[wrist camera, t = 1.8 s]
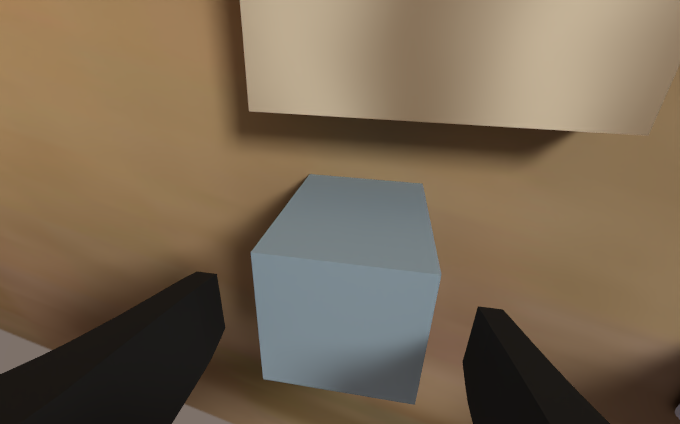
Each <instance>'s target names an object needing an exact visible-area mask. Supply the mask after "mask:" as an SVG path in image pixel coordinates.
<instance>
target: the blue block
mask: <svg viewBox="0 0 680 424" xmlns="http://www.w3.org/2000/svg"><path fill="white" fill-rule="evenodd" d="M251 261H252V271H253V281H254V291H255V301H256V311H257V321H258V332H259V342H260V352H261V362H262V372H263V379H266V380H272V381H278V382H284V383H290V384H296V385H302V386H308V387H314V388H320V389H325V390H331V391H337V392H343V393H349V394H355V395H361V396H367V397H373V398H379V399H385V400H390V401H396V402H402V403H408V404H414V405H415V401H416V396H417V391H418V386H419V381H420V376H421V372H422V367H423V362H424V357H425V352H426V347H427V342H428V337H429V332H430V328H431V323H432V318H433V313H434V308H435V303H436V298H437V293H438V288H439V283H440V279H441V271H440V266H439V262H438V257H437V252H436V247H435V242H434V237H433V232H432V227H431V222H430V218H429V213H428V208H427V203H426V198H425V193H424V188H423V184H420V183H408V182H396V181H384V180H372V179H360V178H349V177H337V176H325V175H313V174H309V176H308V177H307V178H306V180H305V181H304V182H303V184H302V185H301V186H300V188H299V189H298V190H297V192H296V193H295V194H294V196H293V197H292V198H291V199H290V201H289V202H288V203H287V205H286V206H285V207H284V209H283V210H282V211H281V213H280V214H279V215H278V217H277V218H276V219H275V221H274V222H273V223H272V225H271V226H270V227H269V229H268V230H267V231H266V233H265V234H264V235H263V237H262V238H261V239H260V241H259V242H258V243H257V245H256V246H255V247H254V249H253V250H252V251H251Z"/></svg>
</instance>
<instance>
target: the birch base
mask: <svg viewBox="0 0 680 424" xmlns="http://www.w3.org/2000/svg"><path fill="white" fill-rule="evenodd" d="M240 9H241V21H242V33H243V45H244V57H245V69H246V81H247V93H248V105H249V111H252V112H268V113H285V114H301V115H317V116H334V117H350V118H367V119H383V120H400V121H416V122H432V123H449V124H465V125H482V126H498V127H514V128H531V129H547V130H564V131H580V132H596V133H613V134H629V135H646V136H648V135H649V133H650V131H651V129H652V126H653V124H654V122H655V119H656V117H657V115H658V113H659V110H660V108H661V106H662V103H663V101H664V99H665V97H666V94H667V92H668V90H669V87H670V85H671V83H672V81H673V78H674V76H675V74H676V71H677V69H678V67H679V65H680V0H240Z"/></svg>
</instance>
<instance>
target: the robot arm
mask: <svg viewBox="0 0 680 424" xmlns="http://www.w3.org/2000/svg"><path fill="white" fill-rule="evenodd" d="M224 330H225V323H224V317H223V311H222V304H221V298H220V291H219V285H218V279H217V274H212V273H204V272H195V273H193V274H191V275H189V276H187V277H186V278H184V279H182V280H180V281H178V282H177V283H175V284H173V285H171V286H170V287H168V288H166V289H164V290H163V291H161V292H159V293H157V294H156V295H154V296H152V297H151V298H149V299H147V300H145V301H144V302H142V303H140V304H138V305H137V306H135V307H133V308H131V309H130V310H128V311H126V312H124V313H123V314H121V315H119V316H117V317H115V318H113V319H112V320H110V321H108V322H106V323H104V324H102V325H100V326H98V327H97V328H95V329H93V330H91V331H89V332H87V333H85V334H83V335H82V336H80V337H78V338H76V339H74V340H72V341H70V342H68V343H66V344H64V345H62V346H60V347H58V348H56V349H54V350H52V351H50V352H48V353H46V354H44V355H42V356H40V357H37V358H35V359H33V360H31V361H29V362H27V363H25V364H22V365H20V366H18V367H16V368H13V369H11V370H9V371H7V372H5V373H2V374H0V424H172V422H173V421H174V419H175V417H176V416H177V414H178V413H179V411H180V410H181V408H182V406H183V405H184V403H185V402H186V400H187V398H188V397H189V395H190V393H191V392H192V390H193V389H194V387H195V385H196V384H197V382H198V380H199V379H200V377H201V375H202V374H203V372H204V371H205V369H206V367H207V365H208V364H209V362H210V360H211V358H212V356H213V354H214V352H215V350H216V348H217V345H218V343H219V341H220V339H221V336H222V334H223V332H224ZM463 370H464V378H465V386H466V393H467V400H468V405H469V409H470V414H471V418H472V422H473V424H610V423H609V422H608V421H607V420H606V419H605V418H604V417H603V416H602V415H601V414H600V413H599V412H598V411H597V410H596V409H595V408H594V407H593V406H592V405H591V404H590V403H589V402H588V401H587V400H586V399H585V398H584V397H583V396H582V395H581V394H580V393H579V392H578V391H577V390H576V389H575V388H574V387H573V386H572V385H571V384H570V383H569V382H568V381H567V380H566V379H565V378H564V376H563V375H562V374H561V373H560V372H559V371H558V370H557V369H556V368H555V367H554V366H553V365H552V364H551V363H550V361H549V360H548V359H547V358H546V357H545V356H544V355H543V354H542V353H541V352H540V350H539V349H538V348H537V347H536V346H535V345H534V344H533V343H532V342H531V340H530V339H529V338H528V337H527V336H526V335H525V334H524V333H523V331H522V330H521V329H520V328H519V327H518V326H517V325H516V324H515V322H514V321H513V320H512V319H511V318H510V317H509V316H508V315H507V314H506V313H505V312H504V310H502V309H494V308H486V307H478V308H477V312H476V316H475V319H474V323H473V327H472V330H471V334H470V337H469V341H468V345H467V348H466V352H465V355H464V359H463ZM675 415H676V416H677V417H678V418H679V420H680V404H679V405H678V406H677V408H676V409H675Z"/></svg>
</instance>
